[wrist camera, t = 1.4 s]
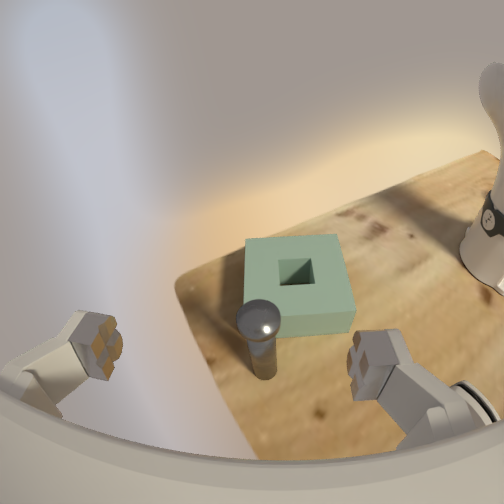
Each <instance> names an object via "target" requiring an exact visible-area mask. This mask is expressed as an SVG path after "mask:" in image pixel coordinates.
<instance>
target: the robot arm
mask: <svg viewBox="0 0 504 504" xmlns="http://www.w3.org/2000/svg"><path fill="white" fill-rule="evenodd" d="M479 95H480V99H481V103H482V105H483V107H484V109H485V111H486V113H487V114H488V116H489V117H490V119H491V120H492V122H493V124H494V126H495V128H496V130H497V133H498V136H499V140H500V146H501V158H500V164H499V168H498V172H497V176H496V179H495V182H494V185H493V188H492V190H490V191H489V193H488V195H487V196H486V199H485V202H484V205H483V207H482V208H481V209H480V211H479V213H478V215H477V217H476V218H475V220H474V222H473V224H472V226H471V227H468V228H467V230H466V232H465V238H464V239H463V240H462V242H461V244H460V255H461V258H462V261H463V263H464V264H465V266H466V267H467V269H468V270H469V271H470V272H471V273H472V274H473V275H474V276H475V277H476V278H477V279H479V280H480V281H482V282H483V283H485V284H487V285H489V286H491V287H493V288H494V289H495V290H496V291H498V292H499V293H500V294H501V295H503V296H504V64H501V63H496V62H493V63H491V64H490V65H488V66H487V67H486V68H485V69H484V71H483V72H482V75H481V77H480V81H479ZM116 326H117V323H116V320H115V317H113V316H110V315H104V314H99V313H94V312H87V311H81V310H78V311H75V313H74V314H73V315H72V317H71V318H70V319H69V321H68V322H67V323H66V325H65V326H64V327H63V329H62V330H61V332H60V333H59V334H58V336H57V337H56V338H51V339H49V340H47V341H46V342H44V343H42V344H40V345H38V346H37V347H35V348H33V349H31V350H29V351H28V352H26V353H24V354H22V355H20V356H19V357H17V358H15V359H13V360H12V361H10V362H8V363H7V364H6V366H5V367H4V369H3V370H2V372H1V373H0V504H504V419H502V420H499V421H497V422H494V423H492V424H489V425H486V426H484V427H481V428H478V429H476V426H475V424H474V421H473V418H472V416H471V413H470V411H469V408H468V406H467V403H466V401H465V399H464V398H462V397H461V396H460V395H458V394H457V393H456V392H455V391H453V390H452V389H451V388H449V387H448V386H447V385H446V384H444V383H443V382H442V381H440V380H439V379H438V378H437V377H435V376H434V375H433V374H431V373H430V372H429V371H427V370H426V369H425V368H424V367H422V366H421V365H420V364H418V363H414V362H413V360H412V357H411V355H410V352H409V350H408V348H407V345H406V343H405V341H404V339H403V336H402V334H401V332H400V330H399V329H384V330H359V331H356V332H355V333H354V336H353V343H354V345H353V346H352V347H351V348H350V349H349V352H348V355H347V371H348V375H349V376H350V377H351V378H352V379H353V380H352V382H351V385H350V386H351V391H352V396H353V401H363V400H377V402H378V403H379V404H380V405H381V406H382V407H383V408H384V409H385V411H386V412H387V413H388V414H389V415H390V416H391V417H392V419H393V420H394V421H395V422H396V423H397V424H398V425H399V426H400V428H401V429H402V430H403V431H404V432H405V433H406V434H407V436H406V437H405V438H404V439H403V440H402V441H401V442H400V443H399V445H398V446H397V447H396V451H390V452H384V453H378V454H371V455H364V456H356V457H346V458H335V459H321V460H251V459H236V458H225V457H215V456H207V455H199V454H192V453H186V452H180V451H174V450H169V449H164V448H159V447H154V446H149V445H145V444H141V443H137V442H132V441H129V440H125V439H121V438H118V437H114V436H111V435H107V434H104V433H100V432H97V431H94V430H91V429H88V428H85V427H82V426H80V425H77V424H74V423H71V422H69V421H66V420H63V419H62V417H63V416H62V413H61V412H60V411H59V410H58V408H57V407H56V406H55V405H56V404H57V403H59V402H60V401H61V400H62V399H63V398H65V397H66V396H67V395H68V394H70V393H71V392H72V391H73V390H75V389H76V388H77V387H78V386H79V385H81V384H82V383H83V382H84V381H85V380H87V379H88V378H89V377H92V378H96V379H100V380H105V381H108V380H109V378H110V376H111V374H112V372H113V370H114V368H115V367H114V364H113V362H114V361H116V360H117V359H119V357H120V355H121V353H122V347H123V342H122V337H121V334H120V333H119V332H118V331H117V330H116V329H115V328H116Z"/></svg>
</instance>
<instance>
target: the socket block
mask: <svg viewBox="0 0 504 504" xmlns="http://www.w3.org/2000/svg"><path fill="white" fill-rule="evenodd" d="M295 283H309V284H304V285H287V286H280V284H295ZM255 299H264V300H268V301H270V302H272V303H274V304H275V305H276V306H277V307H278V309H279V311H280V314H281V326H280V330H279V332H278V333H277V334H276V338H286V337H302V336H315V335H327V334H338V333H348V332H349V330H350V327H351V325H352V322H353V319H354V316H355V313H356V306H355V302H354V298H353V294H352V289H351V285H350V281H349V277H348V274H347V270H346V266H345V262H344V258H343V255H342V251H341V247H340V244H339V240H338V237H337V234H325V235H306V236H287V237H269V238H252V239H246V243H245V274H244V304H245V303H247V302H248V301H251V300H255Z"/></svg>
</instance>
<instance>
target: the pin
mask: <svg viewBox="0 0 504 504" xmlns="http://www.w3.org/2000/svg"><path fill="white" fill-rule="evenodd" d="M236 322H237V326H238V330H239V332H240V334H241V335H242V336H243V337H244V338H245V339H247V344H248V348H249V353H250V357H251V361H252V366H253V370H254V374H255V376H256V377H257V378H259V379H261V380H269V379H271V378H273V377H274V376H275V375H276V372H277V358H276V334H277V333H278V332H279V330H280V326H281V314H280V311H279V309H278V307H277V306H276V305H275V304H274V303H272V302H270V301H268V300H264V299H255V300H251V301H248V302H247V303H245V304H244V305H242V306H241V307H240V309H239V310H238V312H237V315H236Z"/></svg>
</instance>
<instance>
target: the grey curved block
mask: <svg viewBox="0 0 504 504" xmlns="http://www.w3.org/2000/svg"><path fill="white" fill-rule="evenodd" d="M449 388H451V389H452V390H453V391H455V392H456V393H457V394H458V395H460V396H461V397H462V398H464V399H465V401H466V403H467V406H468V408H469V411H470V413H471V416H472V418H473V421H474V424H475V426H476V429H478V428H481V427H484V426H486V425H489V424H492V423H494V422H497V421H499V420H500V418H499V416H498V414H497V412H496V411H495V409H494V407H493V406H492V405H491V403H490V402H489V401H488V400H487V398H486V397H485V396H484V395H483V394H482V393H481V392H480V391H479V390H478V389H477V388H476V387H474V386H473V385H472V384H471V383H469V382H468V381H465V380H463V381H460V382H458V383H456V384H454V385H452V386H450V387H449Z"/></svg>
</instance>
